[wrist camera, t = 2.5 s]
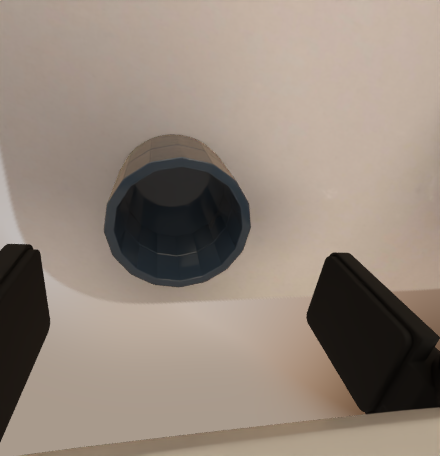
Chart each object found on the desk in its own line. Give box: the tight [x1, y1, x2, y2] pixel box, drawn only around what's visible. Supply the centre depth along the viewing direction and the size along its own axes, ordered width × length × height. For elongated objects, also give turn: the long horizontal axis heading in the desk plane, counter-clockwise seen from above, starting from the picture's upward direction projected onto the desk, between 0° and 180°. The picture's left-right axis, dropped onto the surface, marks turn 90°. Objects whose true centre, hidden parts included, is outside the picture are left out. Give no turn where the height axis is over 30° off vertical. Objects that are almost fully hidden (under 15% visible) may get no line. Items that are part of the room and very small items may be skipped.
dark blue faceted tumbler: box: [104, 134, 251, 287], centre depth 15 cm, size 6×6×5 cm
